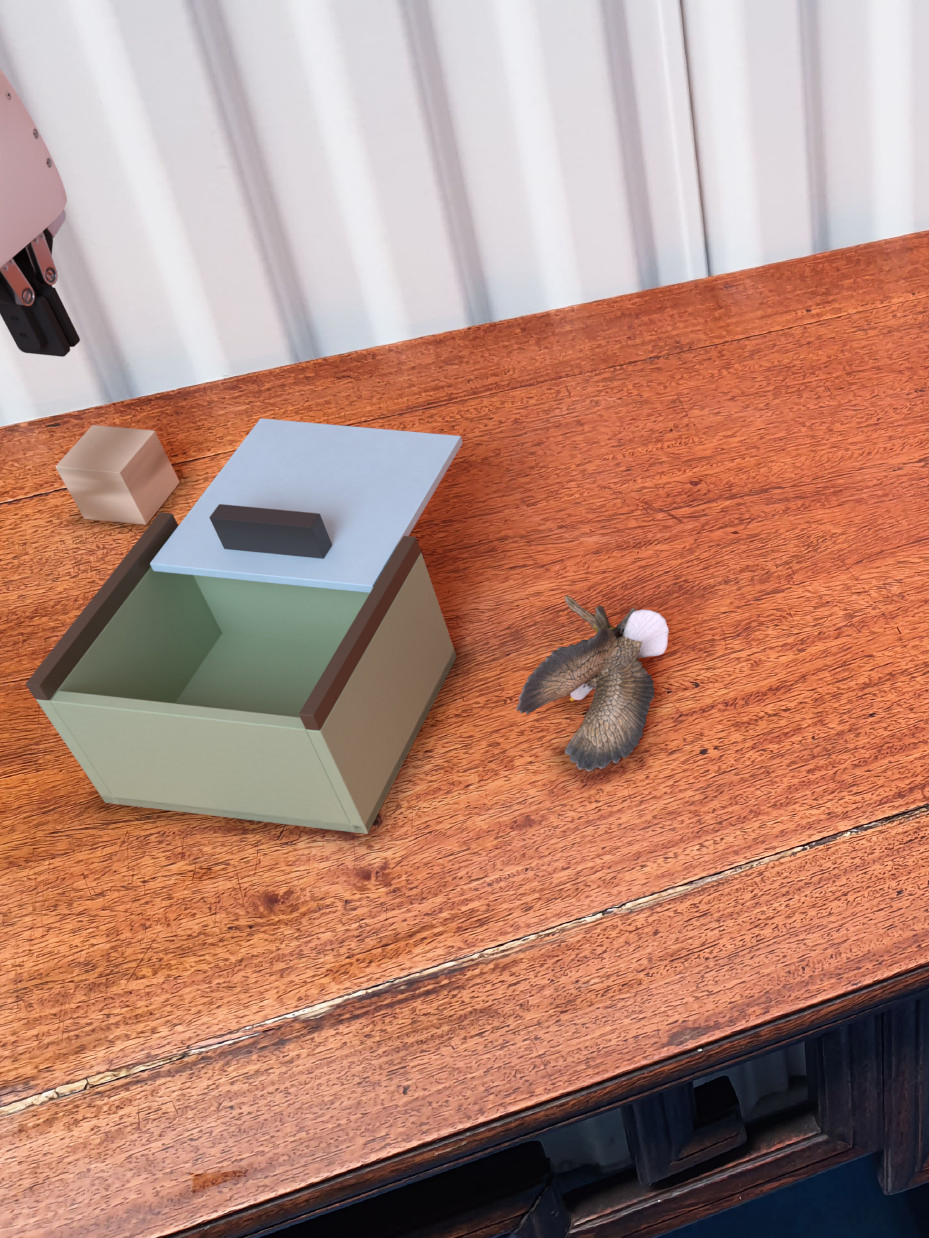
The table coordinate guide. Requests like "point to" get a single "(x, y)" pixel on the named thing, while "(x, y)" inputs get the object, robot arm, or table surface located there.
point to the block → (118, 474)
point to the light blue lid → (310, 505)
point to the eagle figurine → (602, 683)
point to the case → (247, 689)
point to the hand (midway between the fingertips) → (51, 347)
